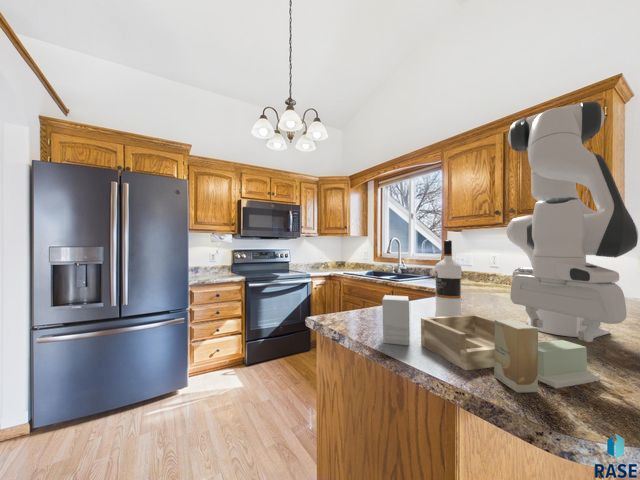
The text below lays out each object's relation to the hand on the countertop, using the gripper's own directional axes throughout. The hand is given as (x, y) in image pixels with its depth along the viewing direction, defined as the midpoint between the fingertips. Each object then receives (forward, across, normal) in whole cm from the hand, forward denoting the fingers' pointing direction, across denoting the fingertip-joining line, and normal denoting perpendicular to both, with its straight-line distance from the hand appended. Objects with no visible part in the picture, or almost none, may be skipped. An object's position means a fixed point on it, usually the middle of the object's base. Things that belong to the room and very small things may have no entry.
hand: (559, 333), depth 58 cm
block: (+8, 0, -2) cm, 8 cm away
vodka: (+9, -35, +1) cm, 36 cm away
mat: (+9, 0, -2) cm, 9 cm away
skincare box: (+9, +2, -14) cm, 17 cm away
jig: (+9, -14, -10) cm, 19 cm away
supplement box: (+9, -27, -24) cm, 37 cm away
